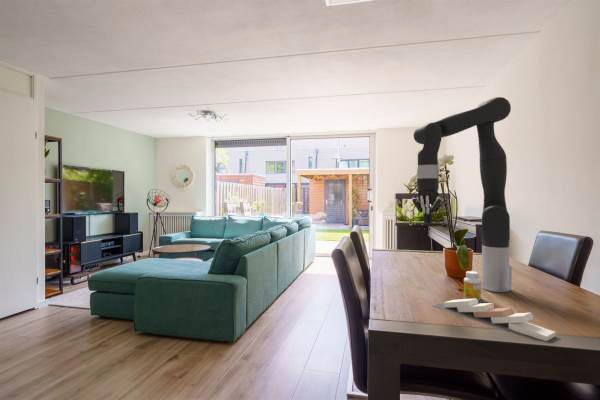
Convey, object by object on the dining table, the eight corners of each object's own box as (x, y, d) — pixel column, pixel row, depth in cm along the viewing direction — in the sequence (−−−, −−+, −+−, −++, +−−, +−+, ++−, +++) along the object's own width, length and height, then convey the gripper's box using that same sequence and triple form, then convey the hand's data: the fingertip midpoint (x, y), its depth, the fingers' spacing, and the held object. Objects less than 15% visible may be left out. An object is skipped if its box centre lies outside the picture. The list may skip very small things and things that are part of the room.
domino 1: (443, 302, 107) (467, 301, 100) (452, 300, 110) (476, 298, 103) (444, 307, 107) (469, 306, 100) (453, 304, 110) (478, 303, 102)
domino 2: (456, 307, 103) (483, 306, 96) (466, 304, 106) (492, 302, 98) (458, 312, 103) (485, 311, 95) (467, 309, 105) (494, 308, 98)
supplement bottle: (460, 297, 119) (460, 270, 119) (474, 296, 119) (474, 270, 119) (469, 301, 114) (469, 274, 113) (484, 301, 114) (484, 273, 114)
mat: (432, 307, 109) (432, 306, 109) (448, 302, 113) (448, 301, 113) (508, 333, 88) (508, 331, 88) (524, 325, 93) (524, 324, 93)
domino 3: (473, 311, 99) (502, 311, 91) (482, 308, 101) (511, 307, 94) (474, 317, 98) (504, 316, 91) (483, 314, 101) (513, 313, 94)
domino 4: (490, 317, 94) (522, 316, 87) (499, 314, 97) (531, 312, 89) (492, 323, 94) (524, 322, 86) (501, 319, 96) (533, 318, 89)
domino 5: (508, 322, 90) (546, 336, 82) (517, 319, 92) (555, 331, 85) (508, 328, 90) (546, 342, 82) (517, 324, 93) (555, 337, 85)
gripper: (406, 178, 124) (407, 223, 125) (436, 176, 113) (437, 225, 113) (419, 178, 128) (419, 222, 129) (450, 176, 117) (450, 224, 117)
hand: (427, 223), depth 121 cm, fingers closed
